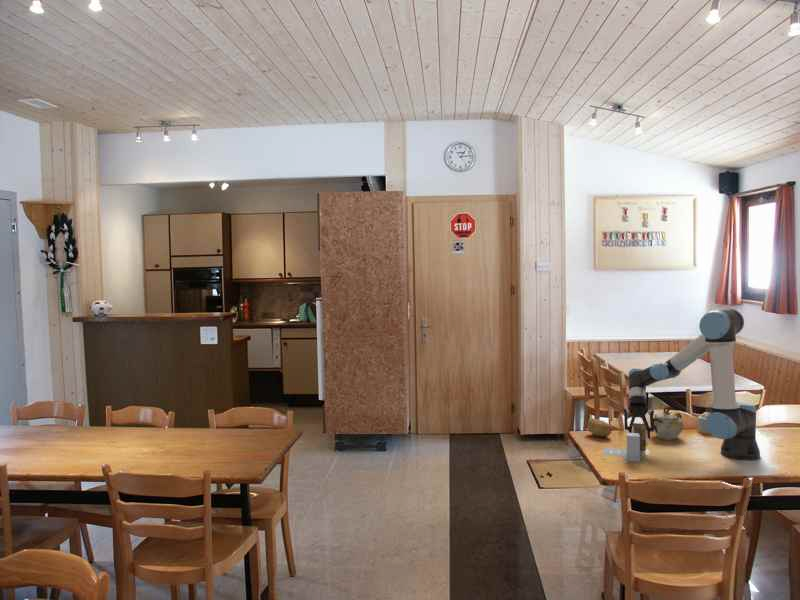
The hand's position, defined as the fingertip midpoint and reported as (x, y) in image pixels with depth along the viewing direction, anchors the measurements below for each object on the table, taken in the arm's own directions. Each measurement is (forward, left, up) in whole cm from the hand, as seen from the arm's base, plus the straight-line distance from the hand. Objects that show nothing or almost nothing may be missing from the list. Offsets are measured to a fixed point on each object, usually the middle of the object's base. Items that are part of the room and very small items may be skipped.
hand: (639, 443), depth 274 cm
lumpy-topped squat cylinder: (-18, -57, -5) cm, 60 cm away
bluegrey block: (0, +9, -5) cm, 10 cm away
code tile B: (0, +9, -5) cm, 10 cm away
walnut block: (+1, -4, -3) cm, 5 cm away
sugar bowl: (-3, -34, -5) cm, 34 cm away
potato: (+24, -18, -5) cm, 31 cm away
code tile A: (+10, +3, -5) cm, 12 cm away
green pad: (+1, -3, -5) cm, 6 cm away
